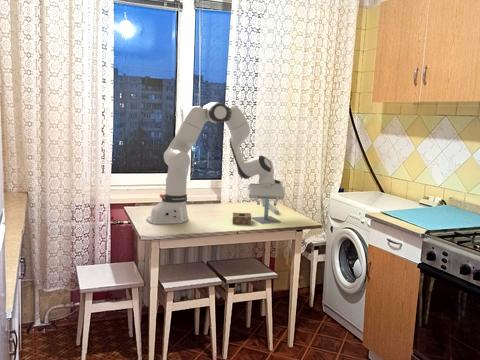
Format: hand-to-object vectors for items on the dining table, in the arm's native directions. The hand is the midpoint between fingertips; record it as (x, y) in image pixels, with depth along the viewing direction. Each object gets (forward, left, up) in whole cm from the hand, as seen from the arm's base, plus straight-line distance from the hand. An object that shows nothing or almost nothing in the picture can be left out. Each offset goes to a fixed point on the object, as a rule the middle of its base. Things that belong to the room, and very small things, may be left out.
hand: (266, 204), depth 258 cm
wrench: (+15, +25, -10) cm, 30 cm away
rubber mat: (0, +1, -9) cm, 9 cm away
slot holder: (-15, +1, -9) cm, 17 cm away
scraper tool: (0, +1, -9) cm, 9 cm away
